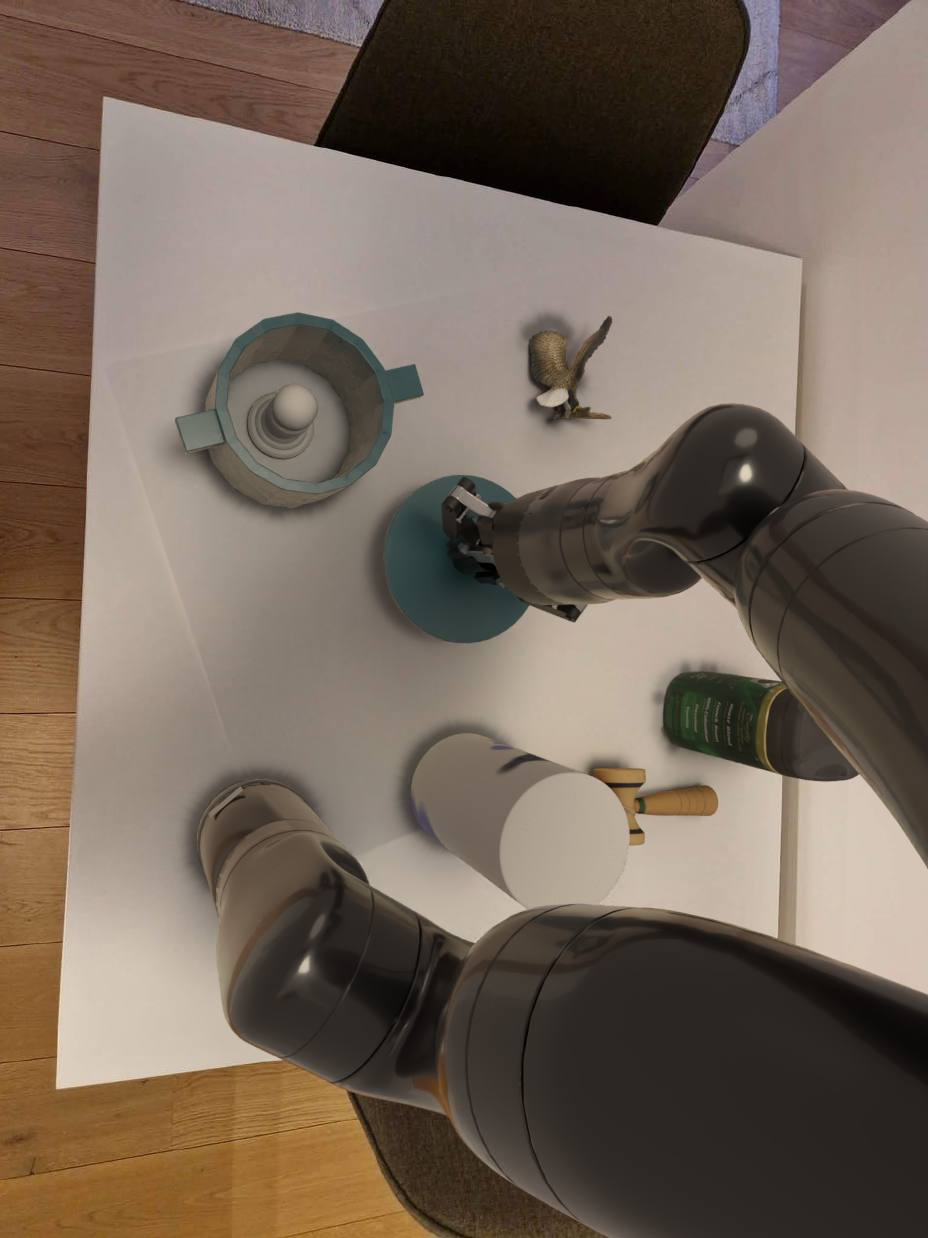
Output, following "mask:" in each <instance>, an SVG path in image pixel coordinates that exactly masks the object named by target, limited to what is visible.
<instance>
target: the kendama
mask: <svg viewBox="0 0 928 1238" xmlns="http://www.w3.org/2000/svg"><path fill="white" fill-rule="evenodd" d="M592 777H594V778H597V779H598V780H600V781H602V782H603V783H604V784H606V785H607V786H608V787H609V788H610V789H611V790H612V791H613V792H614V793H615V794H616V796H617V797H618V799H619V800H620V802H621V804H622V806H623V808H624V810H625V813H626V816H627V820H628V825H629V833H630V842H629V846H631V847H633V846H641V845H644V844H645V839H646V833H645V831H644V830H643V829H642V828H641V826H640V825H639V823H638V822H637V819H636V814H637V815H647V816H661V817H668V816H669V817H673V816H674V817H676V816H678V817H679V816H680V817H681V816H682V817H683V816H688V817H689V816H691V817H692V816H693V817H694V816H695V817H697V816H698V817H711V816H713V815H714V814H716V812H717V810H718V808H719V798H718V797H719V796H718V794H717V792H716V791H715V789H714V788H713V787H712V786H710V785H707V784H703V785H698V786H693V787H688V788H687V787H686V788H681V789H673V790H667V791H666V790H665V791H659V792H655V793H649V794H646V795H642V796H639V797H636V796H637V794H638V793H639V791H640V788H641V787H642V786H643V785H645V783H646V781H647V778H646V777H647V776H646V769H645V768H639V767H638V768H634V767H599V768H598V767H596V768H594V769H593V776H592Z"/></svg>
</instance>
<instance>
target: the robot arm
mask: <svg viewBox="0 0 928 1238" xmlns="http://www.w3.org/2000/svg"><path fill="white" fill-rule="evenodd" d="M480 498H481V496H480V495H479V494H478V493H476V485H475V484H474V483H473V482H472V481H471V480H470V479H468V478H466V477H462V478H461V479H460V481H459V482H458V483H457V485H456V486H455V487H454V488H453V490H452V491H451V492H450V494H449V495H448V496H447V497H446V499H445V500H444V501H443V503H442V504H441V508H442V524H443V532H444V533H445V534H446V536H447V537H448V538H450V540H449V541H448V543H447V544H446V546H447V547H448V548H449V550H448V552H447V555H449V556H450V557H451V558H452V559H453V560H455V559H461V558H468V557H470V556H472V557H474V558H475V559H476V560H477V561H478V562H482V563H493V564H494V565H495V566H496V569H497V570H496V571H492V572H482V573H476V575H475V577H474V578H475V579H476V580H477V581H478V582H479V583H480V584H485V583H489V584H491V585H499V586H500V587H501V588H504V589H506V590H508V589H510V590H511V591H512V592H513V593H514V594H515V596H516V597H517V598H518V600H519V601H520V602H522V603H525V604H527V605H529V607H533V608H535V609H538V610H540V611H542V612H545V613H547V614H550V615H553V616H556V617H559V618H560V619H563V620H566V621H568V622H571V623H576V622H577V621H578V619H579V618H580V616H581V615H582V614H583V612H584V611H585V610H586V608H587V607H588V605H599V604H600V605H601V604H606V603H610V602H614V601H617V600H620V601H621V600H649V599H650V600H651V599H660V598H667V597H671V596H674V595H678V594H681V593H683V592H685V591H687V590H689V589H691V588H693V587H694V586H695V585H697V584H698V583H699V582H700V581H701V580H702V579H703V580H704V581H705V582H706V583H707V584H708V585H709V586H711V587H712V588H713V589H714V590H715V591H717V593H718V594H720V595H721V596H722V597H723V598H724V599H725V600H726V601H727V602H729V603H730V604H731V605H732V606H733V607H734V608H735V609H736V611H737V614H738V616H739V617H738V618H739V619H740V621H741V625H742V626H743V628H744V630H745V632H746V634H747V636H748V637H749V639H750V641H751V643H752V644H753V645H754V647H755V649H756V650H757V652H758V653H759V654H760V655H761V657H762V658H763V659H764V661H765V662H766V663H767V665H768V666H769V667H770V668H771V670H772V671H773V672H774V673H775V675H776V676H777V677H778V679H779V681H782V682H783V683H784V685H785V686H786V687H787V689H788V690H789V691H790V692H791V694H792V695H793V696H794V697H795V698H796V700H797V701H798V702H799V703H800V705H801V706H802V707H803V708H804V709H805V711H806V712H807V713H808V714H809V716H810V717H811V718H812V719H813V720H814V722H815V723H816V724H817V725H818V726H819V727H820V729H821V730H822V731H823V732H824V733H825V735H826V736H827V737H828V738H829V739H830V740H831V742H832V743H833V744H834V745H835V746H836V747H837V749H838V750H839V751H840V752H841V753H842V754H843V756H844V757H845V758H846V759H847V760H848V761H849V762H850V764H851V765H852V766H853V767H854V768H855V769H856V771H857V772H858V773H859V775H860V777H861V778H862V779H863V781H864V782H865V783H866V784H867V785H868V787H870V788H871V790H872V791H873V792H874V793H875V795H876V796H877V797H878V799H879V800H880V801H881V802H882V803H883V805H884V807H885V808H886V809H887V810H888V812H889V814H891V816H892V817H893V819H894V820H895V821H896V822H897V824H898V825H899V827H900V828H901V830H902V831H903V833H904V835H905V837H906V838H907V839H908V840H909V842H910V843H911V845H912V846H913V848H914V850H915V852H916V853H917V854H918V856H919V858H920V859H921V860H922V862H923V863H924V865H925V867H926V869H927V870H928V521H927V520H926V519H924V518H922V517H921V516H918V515H916V514H915V513H914V512H912V511H910V510H909V509H907V508H905V507H903V506H901V505H899V504H898V503H895V502H894V501H890V500H888V499H885V498H883V497H880V496H878V495H875V494H872V493H869V492H863V491H858V490H852V489H849V488H848V487H846V486H845V484H844V483H842V481H841V480H839V478H838V477H836V475H835V474H834V473H833V472H832V471H830V469H828V468H827V466H826V465H824V463H823V462H822V461H820V460H819V458H818V457H817V456H816V455H815V454H814V453H813V452H812V451H811V450H810V449H809V448H808V447H807V446H806V445H805V444H804V443H803V442H802V441H801V440H800V439H799V438H798V436H796V435H795V434H794V433H793V432H792V431H791V430H790V429H789V428H788V426H786V424H785V423H783V422H782V421H781V420H780V419H779V418H778V417H776V416H775V415H774V414H772V413H770V412H769V411H767V410H765V409H763V408H760V407H758V406H754V405H751V404H744V403H733V402H729V403H719V404H715V405H711V406H708V407H706V408H703V409H701V410H700V411H698V412H696V413H695V414H693V415H692V416H691V417H690V418H688V419H687V420H685V421H684V422H683V423H682V424H681V425H680V426H679V427H678V428H677V429H675V430H674V431H673V433H671V435H670V436H669V437H668V438H667V439H666V440H665V441H664V442H663V443H662V444H661V445H659V447H658V448H657V449H656V450H654V451H653V452H652V453H651V454H649V455H648V456H647V457H645V458H644V459H642V461H640V462H638V463H637V464H636V465H634V466H633V467H631V468H630V469H626V470H624V471H619V472H615V473H612V474H609V475H605V476H601V477H596V476H595V477H584V478H578V479H574V480H571V481H568V482H564V483H561V484H556V485H553V486H549V487H546V488H542V489H539V490H535V491H531V492H529V493H526V494H524V495H521V496H518V497H517V498H516V499H515V500H514V501H512V502H510V503H508V504H505V503H502V502H499V501H493V502H490V503H489V504H488V505H487V504H486V503H484V502H483V501H481V500H480ZM473 517H475V518H477V522H476V523H475V522H474V521H473V520H472V518H473ZM199 820H200V821H199V823H198V827H197V831H196V850H197V855H198V858H199V862H200V864H201V867H202V868H203V871H204V874H205V877H206V881H207V884H208V887H209V891H210V894H211V898H212V900H213V901H212V902H213V903H214V908H215V911H216V913H217V917H218V919H219V926H218V931H217V938H216V946H215V947H216V949H215V950H216V951H215V954H216V957H215V958H216V967H217V975H218V983H219V991H220V1001H221V1007H222V1012H223V1015H224V1019H225V1021H226V1023H227V1025H228V1026H229V1027H230V1028H229V1029H231V1031H232V1032H233V1034H235V1035H236V1036H237V1037H238V1038H239V1039H240V1040H242V1042H245V1043H246V1044H248V1045H250V1046H252V1047H255V1048H256V1049H259V1050H261V1051H263V1052H264V1053H267V1054H268V1055H271V1056H273V1057H276V1058H278V1059H280V1060H283V1061H284V1062H286V1063H288V1064H290V1065H292V1066H294V1067H296V1068H299V1069H301V1070H303V1071H305V1072H307V1073H309V1074H311V1075H312V1076H315V1077H317V1078H320V1079H322V1080H323V1081H326V1082H327V1083H329V1084H331V1085H333V1086H336V1087H338V1088H340V1089H342V1090H345V1091H348V1092H350V1093H354V1094H357V1095H360V1096H365V1097H368V1098H373V1099H378V1100H381V1101H382V1100H383V1101H386V1102H392V1103H398V1104H401V1105H407V1106H411V1107H415V1108H419V1109H423V1110H425V1111H426V1110H427V1111H429V1112H433V1113H437V1114H440V1115H442V1116H445V1117H447V1118H448V1119H449V1122H450V1124H451V1125H452V1127H453V1130H454V1131H455V1133H456V1135H458V1137H459V1138H460V1139H461V1141H462V1142H463V1143H464V1144H465V1145H466V1147H467V1148H468V1149H469V1150H470V1151H471V1152H472V1154H473V1155H474V1156H476V1158H477V1159H479V1161H481V1163H483V1164H485V1165H486V1166H487V1167H489V1168H490V1169H491V1170H493V1171H494V1172H495V1173H497V1174H499V1176H501V1177H502V1178H504V1179H505V1180H506V1181H508V1182H509V1183H511V1184H512V1185H514V1186H516V1187H517V1188H519V1189H520V1190H521V1191H523V1192H524V1193H526V1194H528V1195H530V1196H532V1197H534V1198H535V1199H537V1200H539V1201H541V1202H542V1203H544V1204H546V1205H548V1206H549V1207H551V1208H552V1209H555V1210H556V1211H559V1212H561V1213H562V1214H564V1215H566V1216H568V1217H570V1218H572V1219H573V1220H575V1221H577V1222H579V1223H580V1224H582V1225H583V1226H586V1227H587V1228H589V1229H591V1230H593V1231H595V1232H596V1233H598V1234H601V1235H602V1236H605V1238H928V993H926V992H923V991H920V990H917V989H916V988H915V989H914V988H912V987H909V986H908V985H905V984H902V983H899V982H896V981H894V980H892V979H888V978H886V977H884V976H881V975H878V974H876V973H874V972H871V971H868V970H865V969H863V968H860V967H858V966H856V965H853V964H849V963H847V962H843V961H841V960H838V959H835V958H832V957H830V956H828V955H825V954H821V953H819V952H817V951H815V950H811V949H808V948H806V947H804V946H800V945H798V944H795V943H791V942H789V941H786V940H783V939H780V938H778V937H774V936H772V935H769V934H765V933H762V932H760V931H756V930H753V929H750V928H747V927H743V926H740V925H737V924H733V923H731V922H730V923H729V922H727V921H722V920H718V919H714V918H709V917H705V916H700V915H695V914H690V913H686V912H683V911H676V910H670V909H664V908H656V907H637V906H621V905H605V904H597V905H590V904H562V905H547V906H539V907H535V908H531V909H528V910H527V909H525V910H522V911H518V912H517V913H514V914H512V915H510V916H508V917H507V918H505V919H503V920H502V921H500V922H498V923H497V924H495V925H494V926H492V927H490V928H489V930H487V931H486V932H485V933H484V934H483V935H482V936H481V937H480V938H479V939H478V940H477V941H476V942H473V941H471V940H467V939H465V938H463V937H461V936H458V935H456V934H453V933H452V932H449V931H448V930H446V929H444V928H443V927H441V926H440V925H438V924H437V923H435V922H433V920H431V919H429V918H427V917H425V916H424V915H422V914H421V913H419V912H417V911H415V910H413V909H412V908H410V907H409V906H406V905H405V904H403V903H401V902H400V901H398V900H396V899H394V898H393V897H391V896H389V895H388V894H386V893H384V892H382V891H381V890H380V889H377V888H376V887H374V886H373V885H371V884H370V881H369V878H368V875H367V873H366V871H365V869H364V868H363V866H362V865H361V863H360V862H359V860H358V859H357V858H356V857H355V856H354V854H353V853H352V852H351V851H350V850H349V849H348V848H347V847H346V845H345V844H344V843H343V842H342V841H341V840H340V839H339V838H338V837H337V836H336V835H335V834H334V833H333V831H332V830H330V828H329V827H328V826H327V825H326V824H325V823H324V822H323V821H322V820H321V818H320V817H319V816H318V815H317V814H316V813H315V811H314V810H312V808H311V807H310V805H309V803H308V802H307V801H306V800H305V798H304V797H302V795H301V794H300V793H299V792H298V791H296V790H295V788H292V787H291V786H289V785H287V784H286V783H283V782H280V781H278V780H274V779H268V778H254V779H248V780H244V781H242V780H241V781H238V782H236V783H234V784H231V785H230V786H228V787H226V788H225V789H223V790H222V791H221V792H220V793H218V794H217V796H215V797H214V798H213V799H212V800H211V801H210V803H209V804H208V806H206V809H205V811H204V812H203V814H202V815H201V818H200V819H199Z"/></svg>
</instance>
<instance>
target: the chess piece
mask: <svg viewBox="0 0 928 1238" xmlns="http://www.w3.org/2000/svg"><path fill="white" fill-rule="evenodd" d="M318 410H319V404H318V400H317V398H316V396H315V394H314V393H313V392H312V391H311V390H310V389H309V388H307V387H306V386H304V385H302V384H298V383H290V384H285V385H284V386H281V388H280V389H279V390H278V391H275V392H269V393H267V394H263V395H262V396H260V397H259V398H257V400H256V401H255V402H254V403H253V404H252V406H251V407H250V409H249V411H248V415H247V421H246V422H247V425H246V426H247V430H248V434H249V437H250V439H251V441H252V443H253V444H254V445H255V446H256V447H257V449H259V451H261V452H262V453H263V454H265V455H267V456H269V457H272V458H275V459H292V458H295V457H297V456H299V455H300V454H302V453H303V452H304V451H306V450H307V448H308V447H309V446H310V444H311V441H312V440H313V438H314V434H315V433H314V432H315V424H314V421H315V419H316V418H317V415H318Z"/></svg>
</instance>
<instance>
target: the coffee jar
mask: <svg viewBox="0 0 928 1238" xmlns="http://www.w3.org/2000/svg"><path fill="white" fill-rule="evenodd" d="M666 691H667V692H666V696H665V699H664V706H663V707H664V708H663V724H664V730H665V733H666V736H667V738H668V739H669V741H671V743H672V744H673V745H675V746H676V747H679V748H681V749H685V750H688V751H692V752H696V753H699V754H703V755H707V756H711V757H714V758H715V757H716V758H718V759H723V760H726V761H729V762H733V763H737V764H741V765H744V766H746V767H750V768H755V769H758V770H763V771H766V772H769V773H774V774H776V775H780V776H783V777H788V778H793V779H799V780H803V781H810V782H822V783H823V782H824V783H825V782H827V783H828V782H842V781H849V780H852V779H854V778H856V777H858V776H859V775H860V774H859V773H858V772H857V771H856V769H855V768H854V767H853V766H852V765H851V764H850V762H849V761H848V760H847V759H846V758H845V757H844V756H843V754H842V753H841V752H840V751H839V750H838V749H837V747H836V746H835V745H834V744H833V743H832V742H831V740H830V739H829V738H828V737H827V736H826V735H825V733H824V732H823V731H822V730H821V729H820V727H819V726H818V725H817V724H816V723H815V722H814V720H813V719H812V718H811V717H810V716H809V714H808V713H807V712H806V711H805V709H804V708H803V707H802V706H801V705H800V703H799V702H798V701H797V700H796V698H795V697H794V696H793V695H792V694H791V692H790V691H789V690H788V689H787V687H786V686H785V685H784V683H783V682H782V681H781V680H775V679H767V678H759V677H751V676H743V675H737V674H731V673H723V672H715V671H714V672H713V671H692V672H691V671H690V672H685V673H681V674H679V675H678V676H676V677H675V678H674V679H673V680H672V681H671V683H670V685H669V686H668V688H667V690H666Z"/></svg>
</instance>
